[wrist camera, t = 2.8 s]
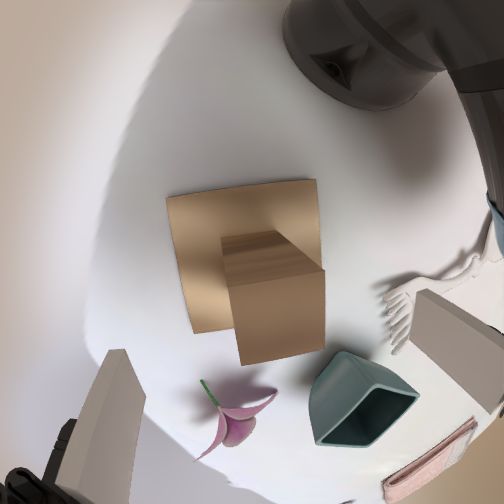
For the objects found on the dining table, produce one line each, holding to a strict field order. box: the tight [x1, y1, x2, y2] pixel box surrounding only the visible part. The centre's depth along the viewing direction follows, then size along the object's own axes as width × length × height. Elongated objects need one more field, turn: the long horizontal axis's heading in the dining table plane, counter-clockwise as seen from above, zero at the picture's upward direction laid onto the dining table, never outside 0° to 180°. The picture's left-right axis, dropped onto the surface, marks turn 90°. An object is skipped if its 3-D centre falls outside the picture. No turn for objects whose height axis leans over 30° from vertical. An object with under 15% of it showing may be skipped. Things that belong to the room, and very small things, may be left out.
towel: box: [384, 416, 478, 504], centre depth 49 cm, size 36×34×6 cm
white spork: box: [383, 218, 503, 355], centre depth 27 cm, size 9×32×3 cm, turn 114°
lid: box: [166, 179, 325, 366], centre depth 18 cm, size 12×12×11 cm
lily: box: [194, 380, 279, 462], centre depth 24 cm, size 12×12×10 cm
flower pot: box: [309, 351, 420, 448], centre depth 25 cm, size 9×9×9 cm
